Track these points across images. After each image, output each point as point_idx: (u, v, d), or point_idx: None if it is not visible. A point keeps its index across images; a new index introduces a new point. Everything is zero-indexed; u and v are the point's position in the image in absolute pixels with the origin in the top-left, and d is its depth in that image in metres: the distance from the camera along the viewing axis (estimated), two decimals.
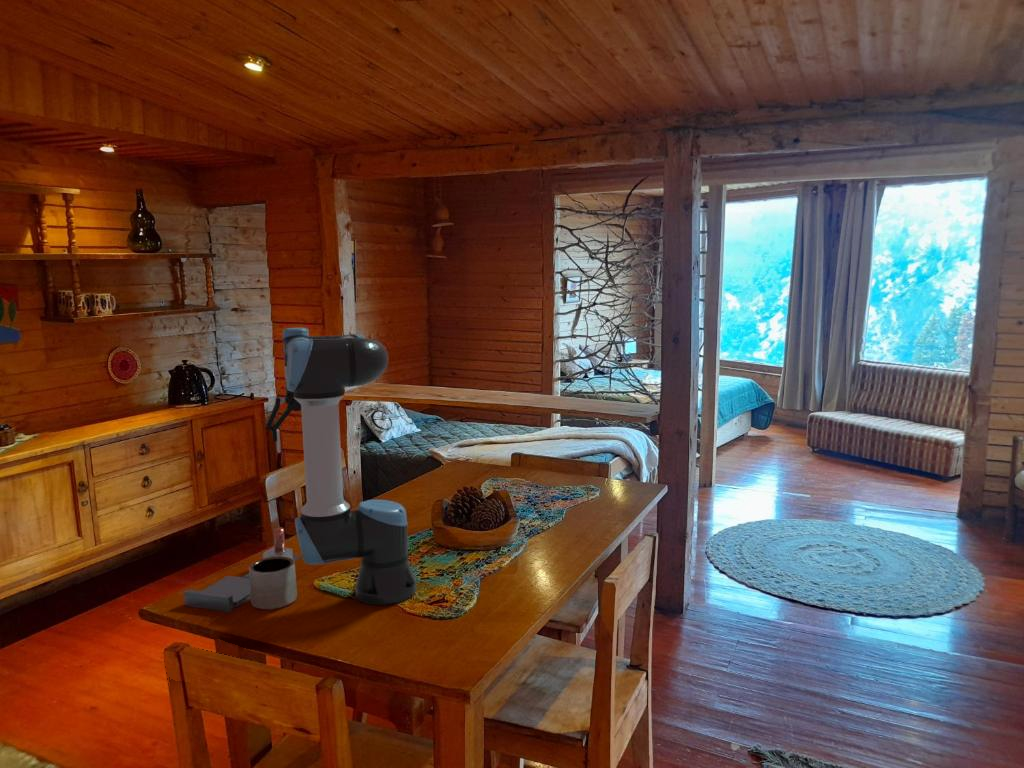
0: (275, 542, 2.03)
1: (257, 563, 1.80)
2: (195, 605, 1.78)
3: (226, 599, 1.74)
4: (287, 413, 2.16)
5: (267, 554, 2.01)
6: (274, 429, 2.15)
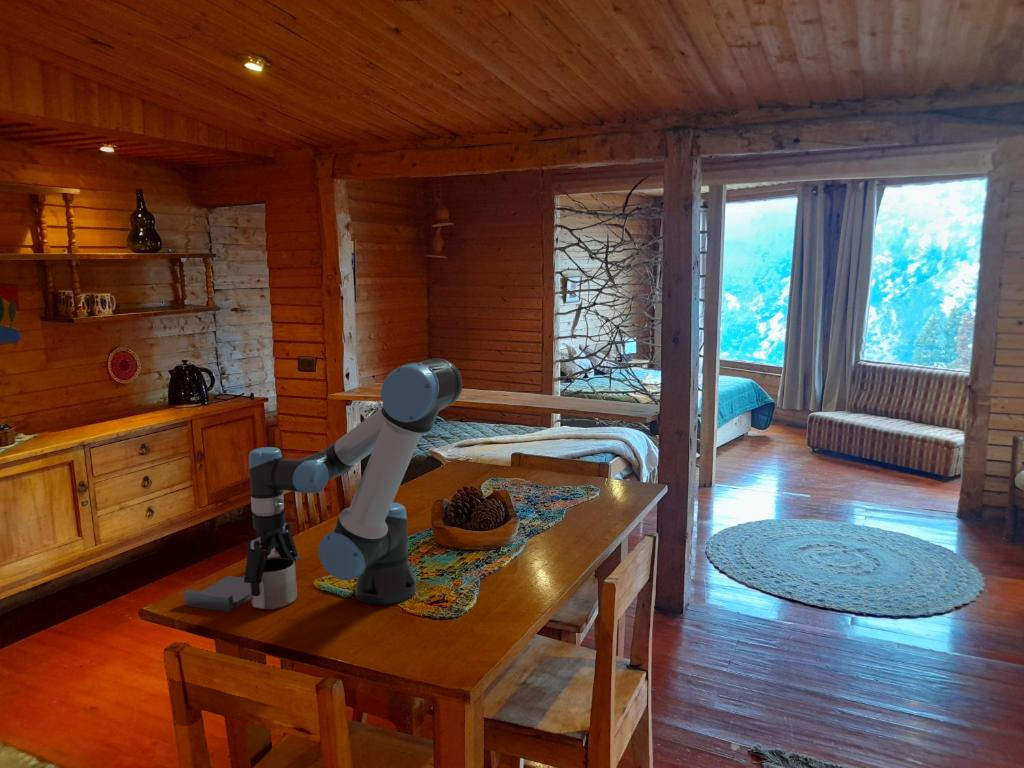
0: None
1: None
2: (195, 605, 1.78)
3: (226, 599, 1.74)
4: None
5: None
6: None
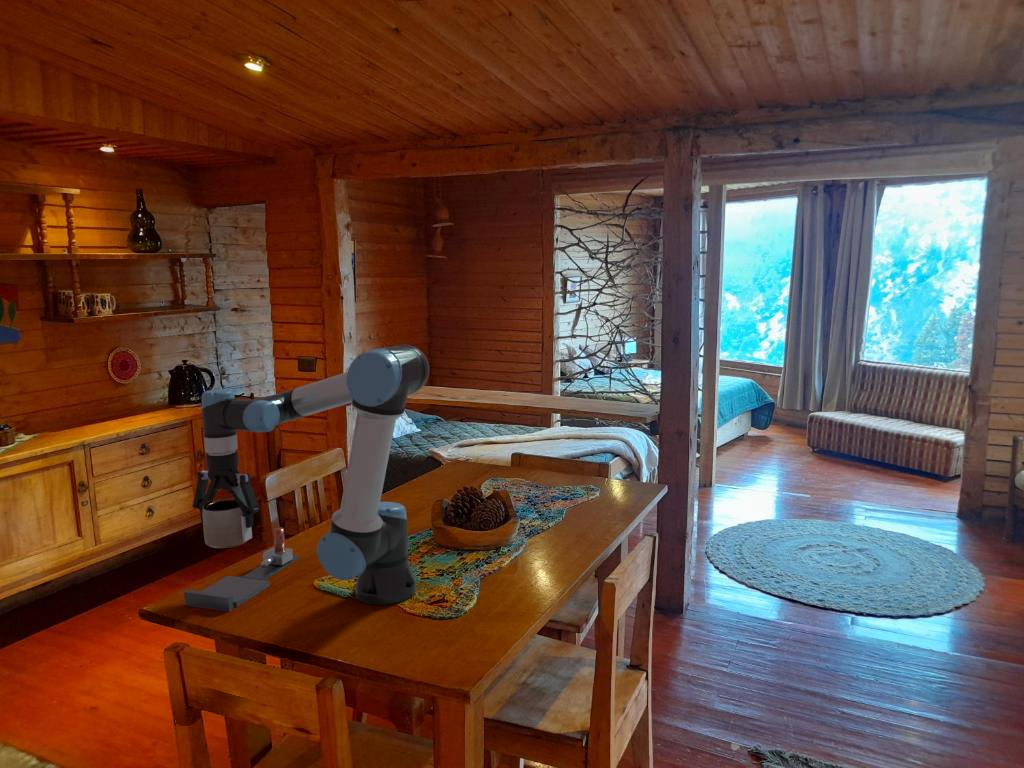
0: (275, 542, 2.03)
1: None
2: (195, 605, 1.78)
3: (226, 599, 1.74)
4: (210, 491, 1.81)
5: (267, 554, 2.01)
6: (200, 509, 1.83)
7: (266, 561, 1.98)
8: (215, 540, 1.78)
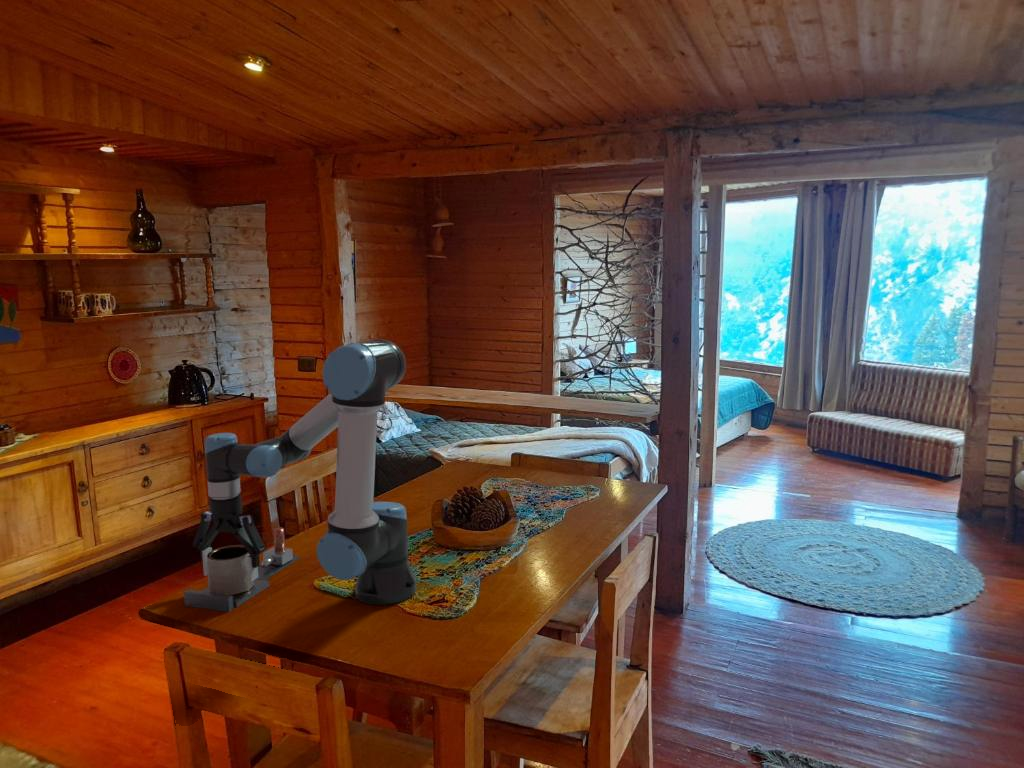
0: (275, 542, 2.03)
1: None
2: (195, 605, 1.78)
3: (226, 599, 1.74)
4: (211, 532, 1.83)
5: (267, 554, 2.01)
6: (200, 548, 1.85)
7: (266, 561, 1.98)
8: (219, 589, 1.80)
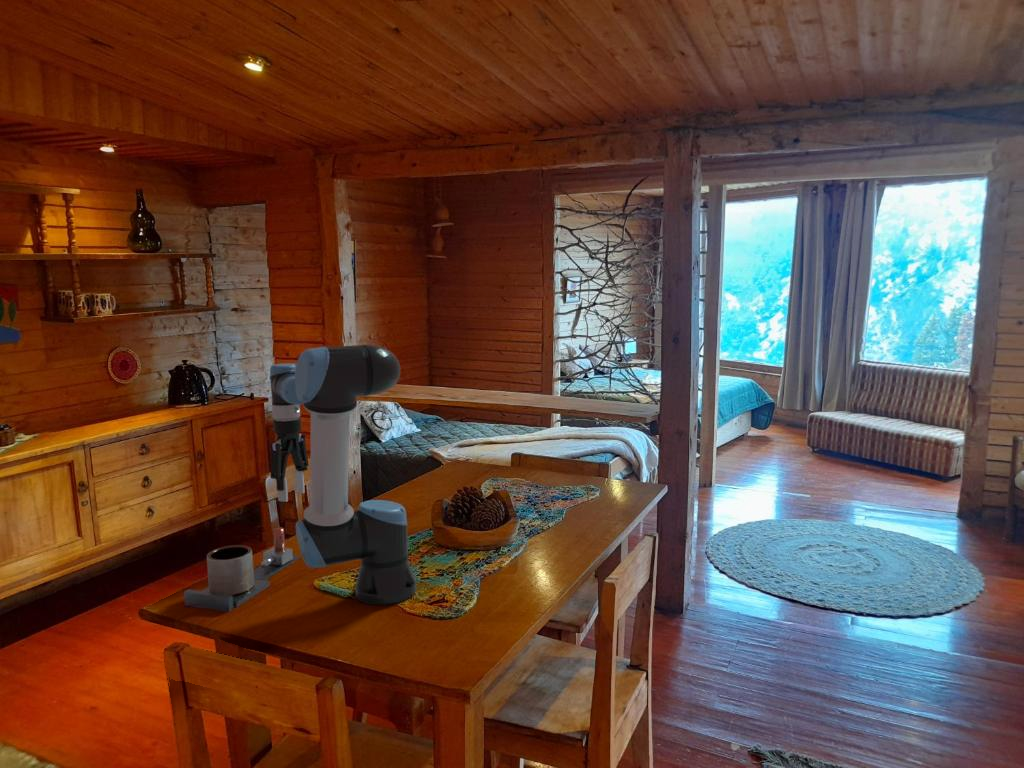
0: (275, 542, 2.03)
1: None
2: (195, 605, 1.78)
3: (226, 599, 1.74)
4: None
5: (267, 554, 2.01)
6: None
7: (266, 561, 1.98)
8: (219, 589, 1.80)
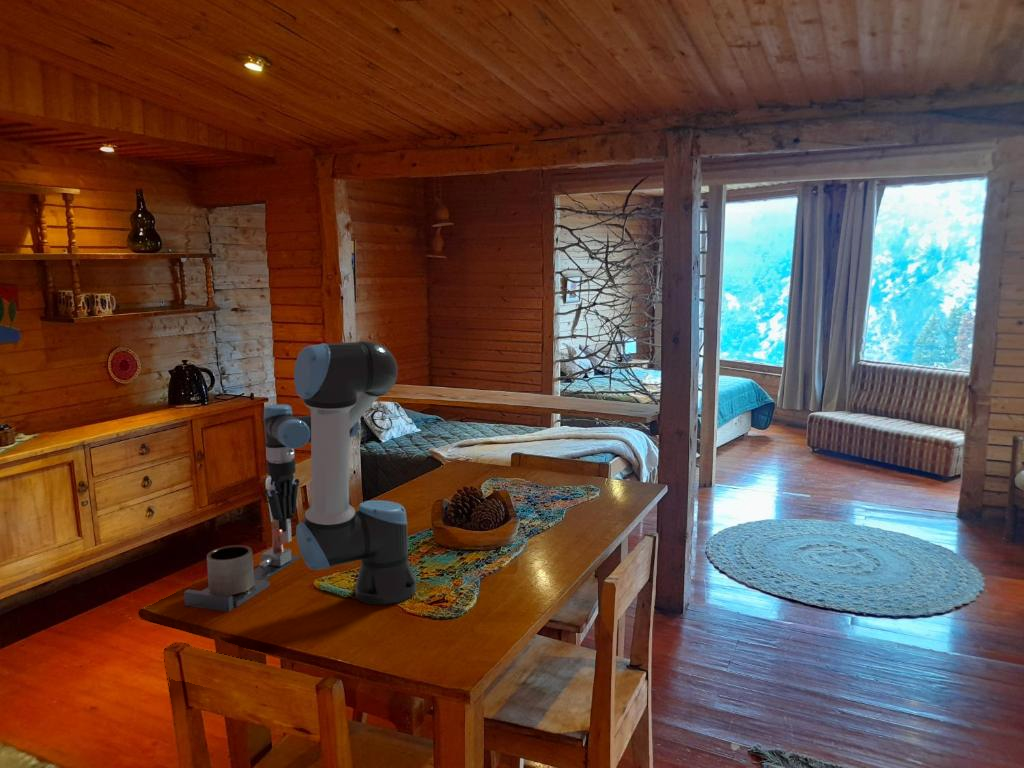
0: (274, 543, 2.02)
1: None
2: (195, 605, 1.78)
3: (226, 599, 1.74)
4: None
5: (266, 555, 2.01)
6: None
7: (265, 562, 1.97)
8: (219, 589, 1.80)
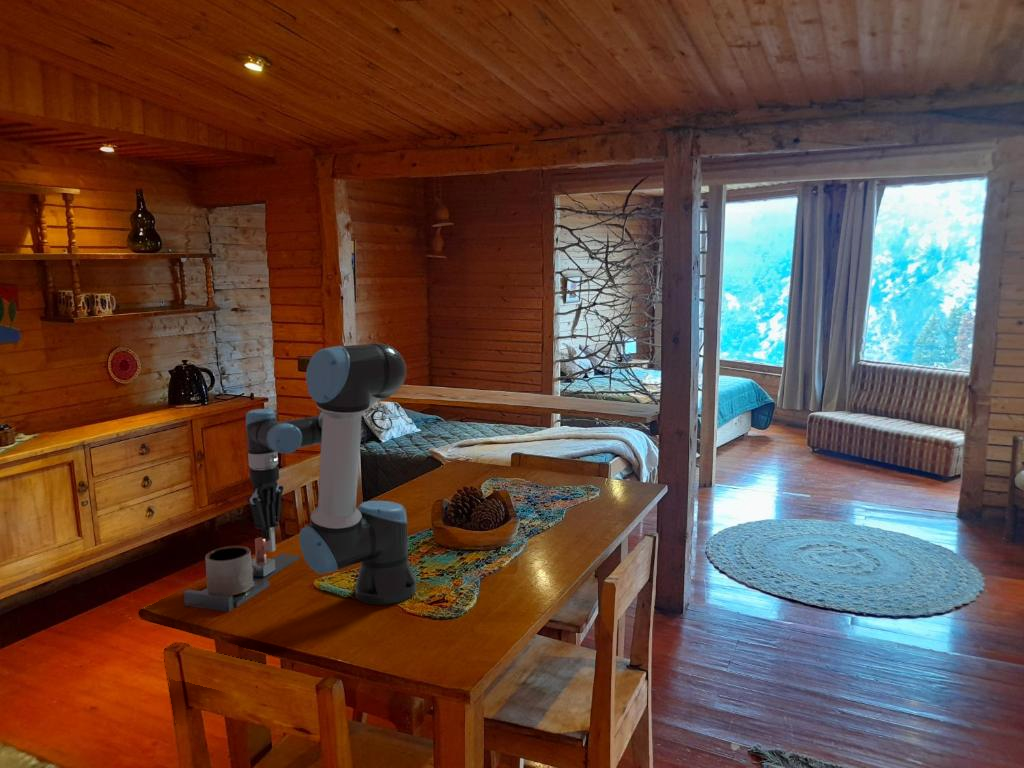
0: (257, 552, 1.95)
1: None
2: (195, 605, 1.78)
3: (226, 599, 1.74)
4: None
5: None
6: None
7: None
8: (218, 590, 1.79)
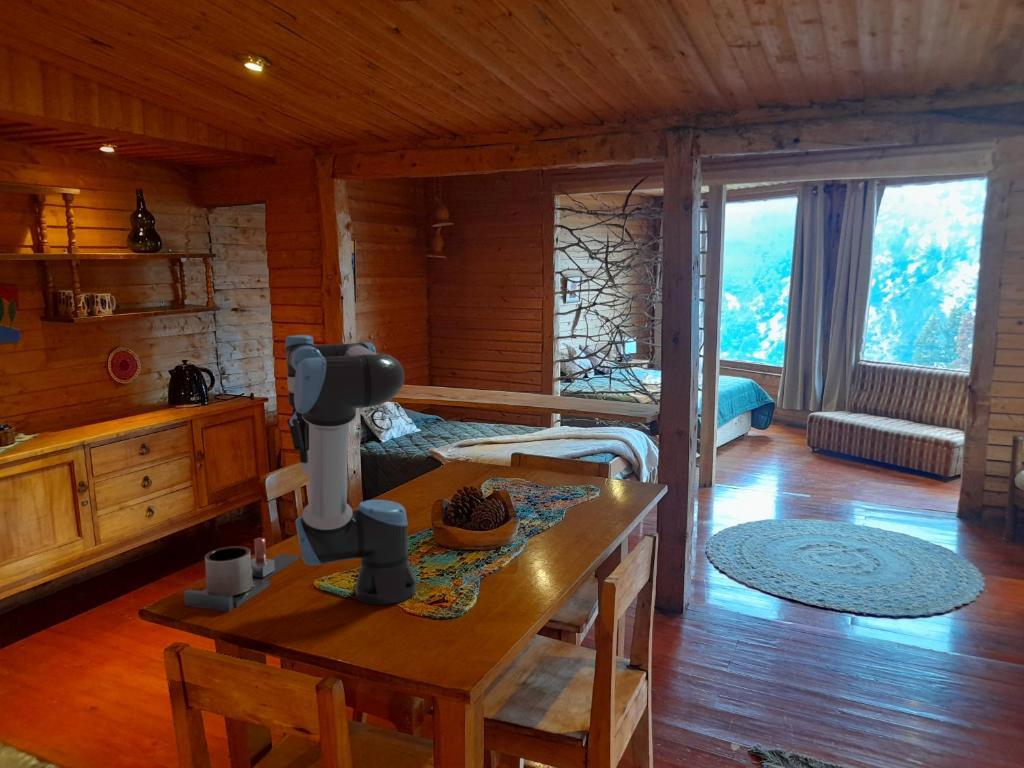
0: (256, 553, 1.95)
1: None
2: (195, 605, 1.78)
3: (226, 599, 1.74)
4: None
5: None
6: None
7: None
8: (217, 590, 1.79)
